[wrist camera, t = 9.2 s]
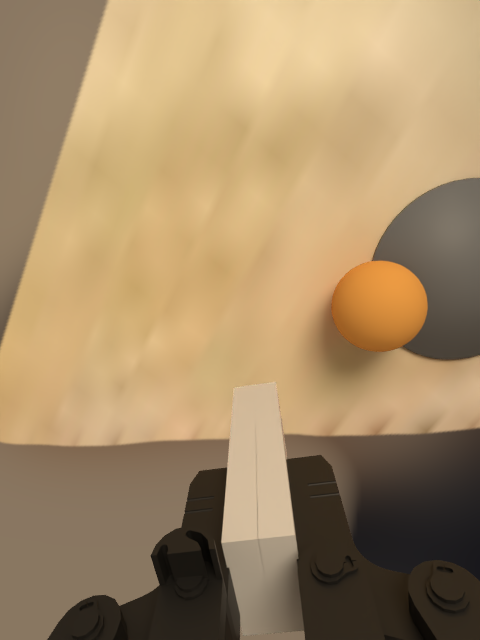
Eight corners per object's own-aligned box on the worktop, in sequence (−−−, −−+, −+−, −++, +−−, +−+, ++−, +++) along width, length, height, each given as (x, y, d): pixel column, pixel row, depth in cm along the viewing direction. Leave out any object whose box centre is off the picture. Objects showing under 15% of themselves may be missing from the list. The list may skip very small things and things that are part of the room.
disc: (597, 226, 26) (600, 226, 25) (486, 382, 29) (488, 384, 29) (431, 144, 24) (433, 144, 24) (337, 318, 28) (338, 319, 28)
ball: (301, 300, 24) (334, 273, 28) (346, 378, 25) (373, 340, 29) (383, 258, 21) (408, 234, 25) (436, 350, 21) (452, 312, 25)
